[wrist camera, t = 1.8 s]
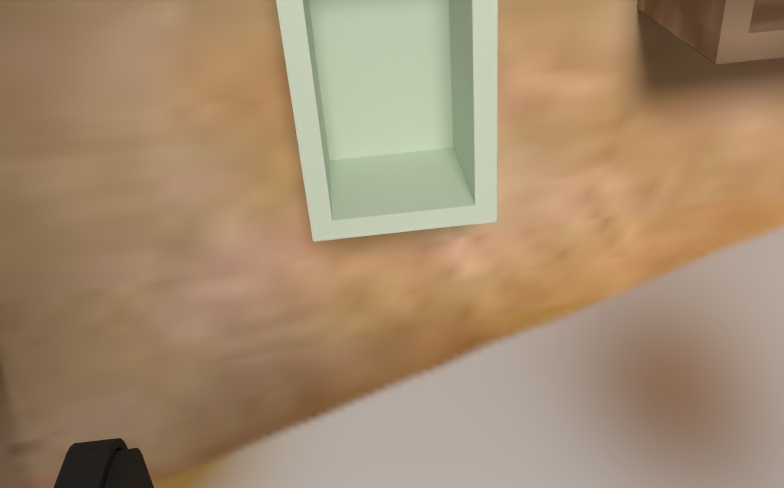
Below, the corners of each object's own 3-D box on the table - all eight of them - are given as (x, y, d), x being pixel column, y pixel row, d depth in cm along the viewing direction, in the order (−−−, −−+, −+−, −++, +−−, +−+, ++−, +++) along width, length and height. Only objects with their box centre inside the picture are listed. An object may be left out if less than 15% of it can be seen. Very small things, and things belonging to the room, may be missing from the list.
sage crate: (270, -119, 23) (261, -94, 19) (464, -137, 23) (497, -117, 19) (313, 172, 28) (312, 241, 24) (469, 155, 29) (496, 221, 24)
